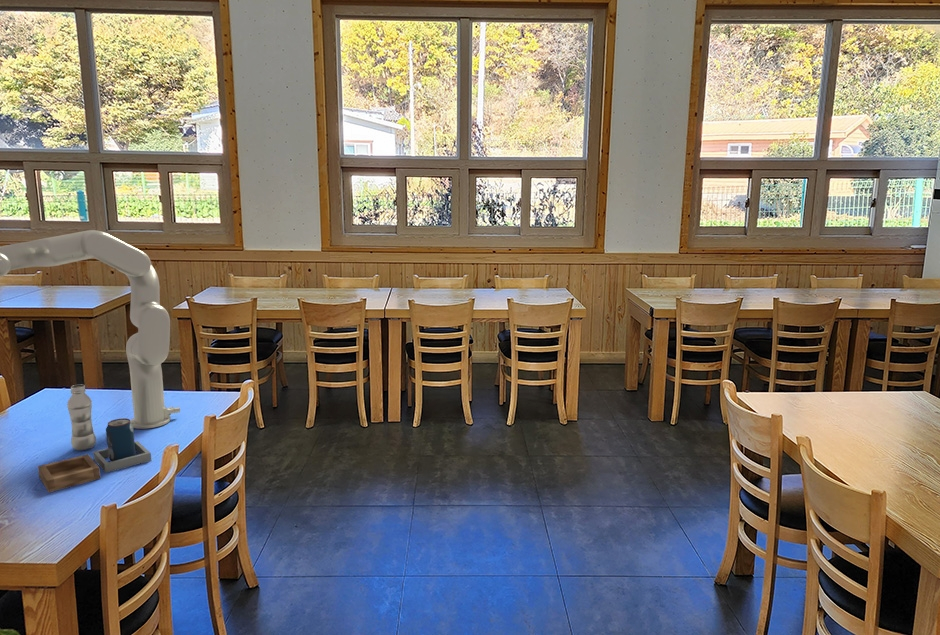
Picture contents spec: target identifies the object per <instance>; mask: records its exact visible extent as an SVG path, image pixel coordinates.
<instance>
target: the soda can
mask: <svg viewBox="0 0 940 635" xmlns="http://www.w3.org/2000/svg"><path fill="white" fill-rule="evenodd" d="M130 420H131V419H130V418H116V419H113V420H110V421H109V422H107V425H106V428H105V435H106V436H105V437H106V443H107V444H106V445H107V448H108V456H109V457H108V460H109V462H112V461H116V460H120V459H123V458H127V457H131V456H135V455H137V454H136V452H137V451H135V442H136V441H135V435H134V434H135V433H134V428H133V425H132V423H131V422H130Z"/></svg>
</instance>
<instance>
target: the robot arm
mask: <svg viewBox="0 0 940 635" xmlns="http://www.w3.org/2000/svg"><path fill="white" fill-rule="evenodd" d="M89 259H96V260H98V261H100V262H101V263H103V264H106V265H107V266H109V267H111V268H114V269H116V270H117V271H118V272H120V273H121V274H125V276H126V278H128V281H129V285H130V307H129V308H130V309H129V310H130V311H129V318H130V319H129V320H130V322H131V324H132V325H133V326H135V327H136V328H137V329H138V331H137V332H136V333H134V334H132V335H131V336H130V337H128V340H127V341H126V346H125V350H126V351H125V353H126V358H127V362H128V367H129V374H130V386H131V397H132V407H133V418H132V419H129V420H130V422H131V423H132V425H133V429H138V430H139V429H141V430H143V429H144V430H145V429H153V428H158V427H162V426H164V425H167V424H168V423H170V421H171V420H172V419H171V418H172V417H171V414H178V413H181V407H180V406H177V407H174V406H170V407H166V406H165V405H166V404H165V395H164V382H163V370H162V363H164V362H165V361H166V359H167V357H168V356H169V352H170V344H171V342H170V341H171V340H170V339H171V318H170V314H169V313H168V311H167V309H166V308H165V307H164V306H162V305H161V304H160V302H161V300H160V298H161V296H160V294H161V291H160V290H161V288H160V280H159V276H158V273H157V272H156V268H154V266H153V265H152V261H151V259H150V257H149V255H148V254H147V253H145V252H144V251H143V250H140V249H138V248H136V247H134V246H133V245H131V244H128V243H126V242H125V241H122V240H120V239H119V238H117V237H115V236H113V235H111V234H110V233H107V232H105V231H101V230H97V229H96V230H95V229H91V230H90V229H89V230H84V231H83V230H82V231H78V232H72V233H67V234H62V235H61V234H60V235H57V236H49V237H45V238H39V239H33V240H30V241H24V242H19V243H18V242H17V243H11V244H6V245H2V246H1V245H0V278H1V277H5V276H6V275H7V274H8V273H10V271H14V270H20V269H26V268H35V267H40V268H41V267H47V268H48V267H56V266H61V265H62V266H63V265H66V264H72V263H75V262H79V261H85V260H89Z"/></svg>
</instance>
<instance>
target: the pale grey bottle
mask: <svg viewBox="0 0 940 635" xmlns="http://www.w3.org/2000/svg"><path fill="white" fill-rule="evenodd" d="M70 394H71V396H70V397H69V399H68V401H67V404H66V405H67V410H68V414H69V417H70V421H71V440H70V443H71V447H72V448H73V450H75V451H86V450H90V449H92V448H93V447H95V445H96V442H97V441H96V440H97V437H96V433H95V432H94V431H95V430H94V426H93V422H92V406H93V405H92V404H93V403H92V398H91V397H90V396H89V395H88V394H86V386H85V384H75V385H71V386H70Z"/></svg>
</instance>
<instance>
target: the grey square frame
mask: <svg viewBox="0 0 940 635" xmlns="http://www.w3.org/2000/svg"><path fill="white" fill-rule="evenodd" d="M135 452H137V453H138V454H136V455H135V456H131V457H127V458H123V459H120V460H116V461H112V462H111V461H109V462H108V461H107V460H106V459H107V458H108V459H109V456H108V447H107V448H104V449H100V450H99V449H98V450H95V451H93V461H94V462H95V463H96V464H97V463H98V464H99V465H98V464H97V465H98V467H99V468H101V470H102V471H103V470H104V473H106V472H107V473H111V472H114V470H115V471H118V470H117V469H119V470H122V469H125V467H126V468H129V466H130V467H132V465H134V466H136V464H138V465H141V464H144V463H149V462H152V455H151V454H152V453H151V452H150V450H148V449H147V448H146V447H145V446H144V445H143V444H142V443H140V441H138V440H136V441H135ZM140 463H141V464H140ZM121 468H122V469H121ZM110 471H111V472H110ZM107 473H106V474H107Z"/></svg>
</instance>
